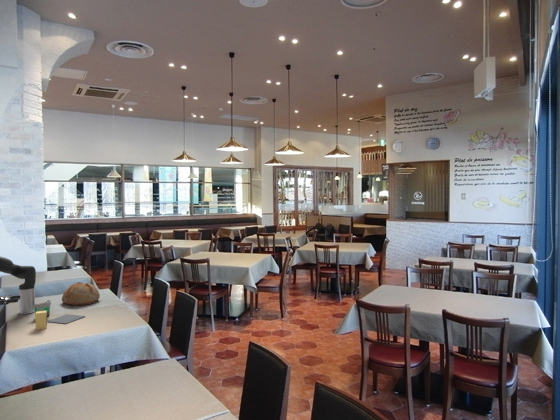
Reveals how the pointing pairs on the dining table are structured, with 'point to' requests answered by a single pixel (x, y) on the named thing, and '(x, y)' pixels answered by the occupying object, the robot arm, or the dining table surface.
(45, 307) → the food container
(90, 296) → the bread
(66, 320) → the mat
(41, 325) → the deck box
